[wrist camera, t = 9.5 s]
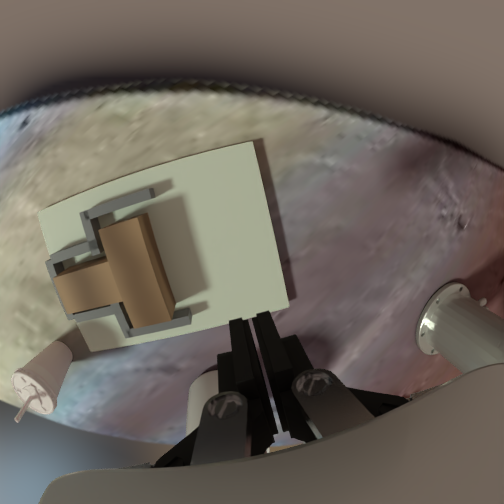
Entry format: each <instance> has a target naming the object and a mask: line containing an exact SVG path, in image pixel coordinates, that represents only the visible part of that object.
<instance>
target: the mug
mask: <svg viewBox="0 0 504 504" xmlns="http://www.w3.org/2000/svg"><path fill="white" fill-rule="evenodd" d="M216 394H219V393H218V370H214V371H210V372H207V373H205V374H203V375H201V376H199V377H198V378H197V379H196V380H195V381H194V382H193V383H192V385H191V386H190V389H189V393H188V406H187V422H186V436H188V435H189V434H190V433H191V432H192V431H193V430H195V429H196V428H197V427H198V426H199V423H200V419H201V414H202V410H203V407H204V405H205V403H206V402H207V401H208V399H210V398H211V397H212V396H214V395H216ZM266 451H267V453H269V452H270V447H269V448H268V449H267V450H266Z"/></svg>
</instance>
